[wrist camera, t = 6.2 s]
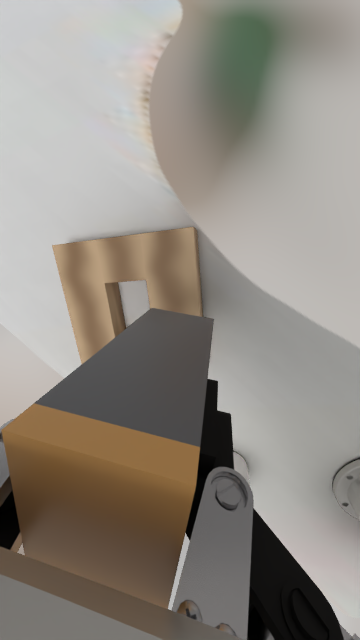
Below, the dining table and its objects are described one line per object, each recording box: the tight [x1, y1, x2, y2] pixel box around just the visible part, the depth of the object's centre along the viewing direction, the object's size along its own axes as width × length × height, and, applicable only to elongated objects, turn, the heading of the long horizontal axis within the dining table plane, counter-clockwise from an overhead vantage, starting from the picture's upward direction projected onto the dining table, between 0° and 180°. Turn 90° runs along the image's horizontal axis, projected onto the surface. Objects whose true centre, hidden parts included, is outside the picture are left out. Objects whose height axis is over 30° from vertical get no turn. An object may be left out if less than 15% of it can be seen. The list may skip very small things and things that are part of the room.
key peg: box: [1, 308, 214, 609], centre depth 10 cm, size 4×6×10 cm, turn 173°
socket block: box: [52, 227, 203, 364], centre depth 29 cm, size 18×18×4 cm
